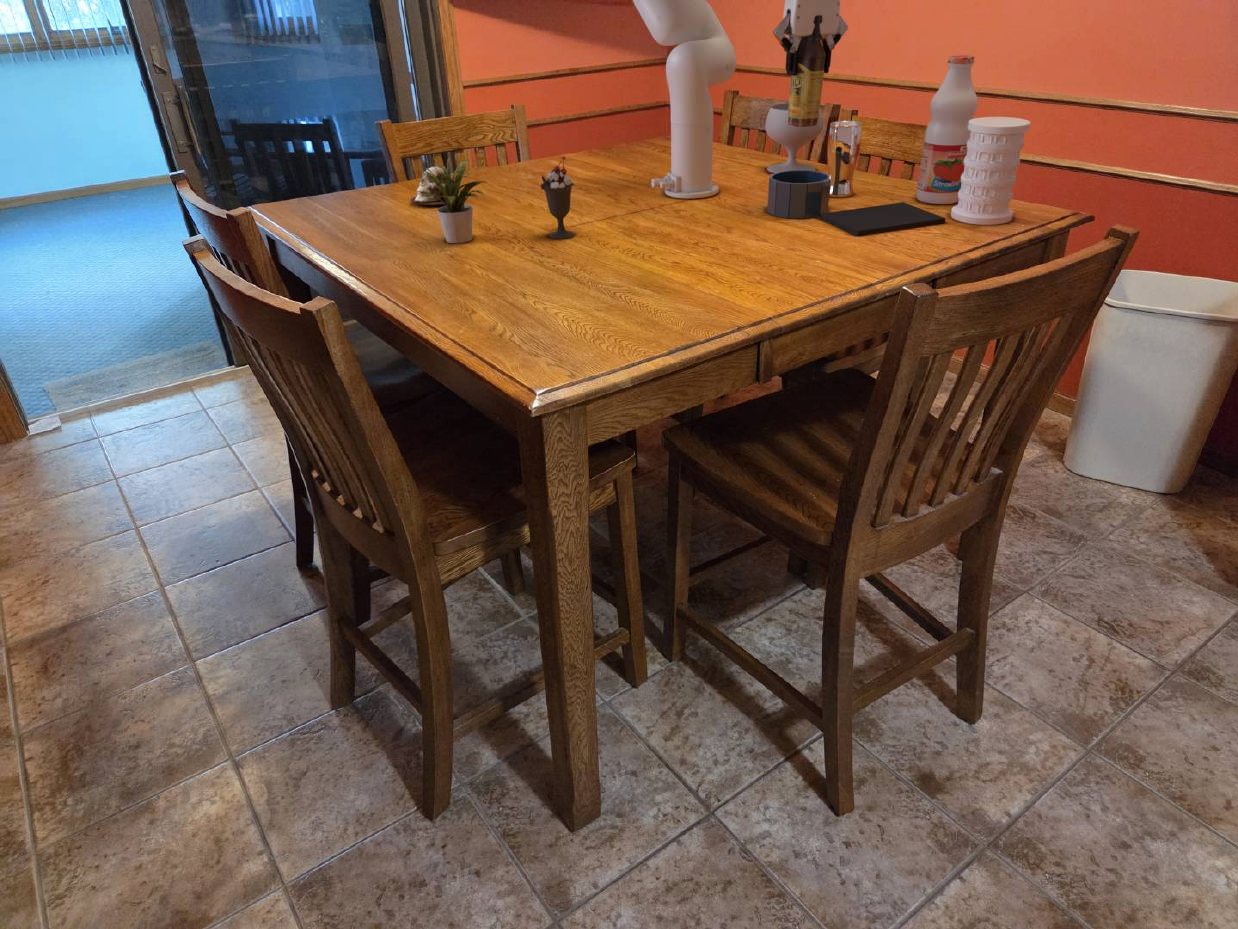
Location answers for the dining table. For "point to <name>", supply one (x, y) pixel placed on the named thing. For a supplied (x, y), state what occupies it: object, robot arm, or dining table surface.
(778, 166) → the chalice
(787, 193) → the holder
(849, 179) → the beer glass
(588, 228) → the dining table surface
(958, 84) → the fruit juice
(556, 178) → the sundae
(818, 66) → the sauce bottle
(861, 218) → the placemat
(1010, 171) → the decorative container
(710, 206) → the dining table surface
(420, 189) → the skull
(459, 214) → the house plant
